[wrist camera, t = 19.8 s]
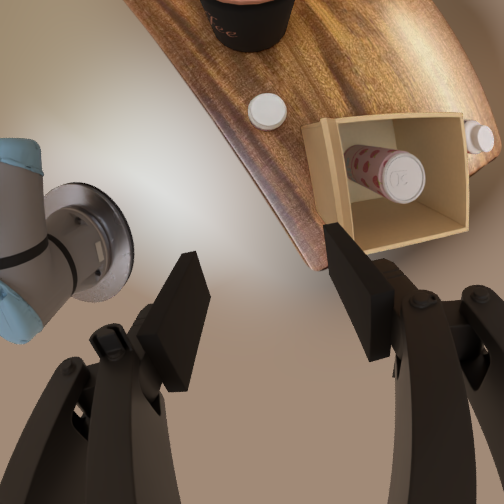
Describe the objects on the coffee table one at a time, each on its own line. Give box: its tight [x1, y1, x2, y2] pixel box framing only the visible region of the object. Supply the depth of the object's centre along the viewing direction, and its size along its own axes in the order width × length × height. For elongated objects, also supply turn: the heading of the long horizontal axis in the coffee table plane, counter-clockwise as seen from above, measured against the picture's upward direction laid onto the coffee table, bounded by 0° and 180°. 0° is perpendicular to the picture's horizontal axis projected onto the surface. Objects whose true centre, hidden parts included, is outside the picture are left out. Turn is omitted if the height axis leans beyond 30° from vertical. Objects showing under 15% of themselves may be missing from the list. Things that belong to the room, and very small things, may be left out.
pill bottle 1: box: [248, 93, 287, 131], centre depth 33 cm, size 5×5×8 cm
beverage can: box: [343, 145, 425, 204], centre depth 32 cm, size 6×6×15 cm
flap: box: [320, 118, 353, 239], centre depth 20 cm, size 7×13×1 cm
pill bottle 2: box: [464, 120, 494, 154], centre depth 32 cm, size 5×5×10 cm
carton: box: [301, 112, 469, 255], centre depth 31 cm, size 15×13×18 cm
